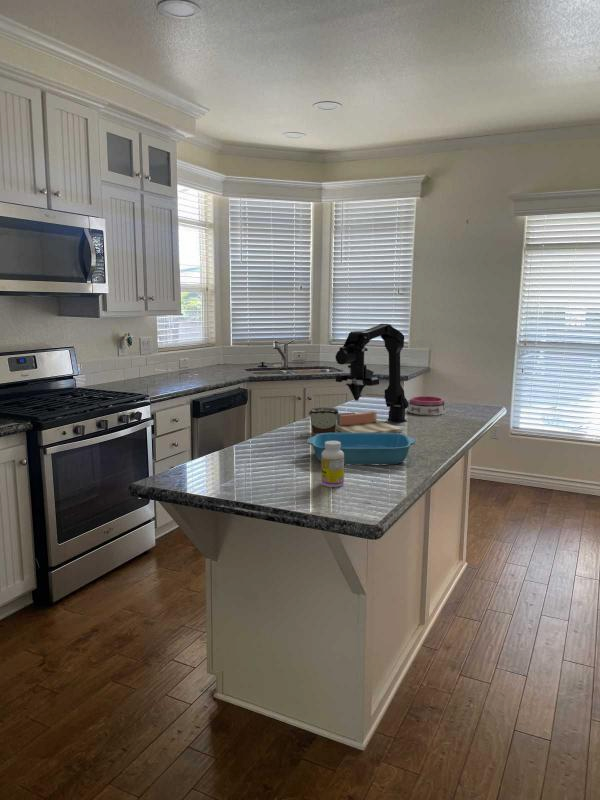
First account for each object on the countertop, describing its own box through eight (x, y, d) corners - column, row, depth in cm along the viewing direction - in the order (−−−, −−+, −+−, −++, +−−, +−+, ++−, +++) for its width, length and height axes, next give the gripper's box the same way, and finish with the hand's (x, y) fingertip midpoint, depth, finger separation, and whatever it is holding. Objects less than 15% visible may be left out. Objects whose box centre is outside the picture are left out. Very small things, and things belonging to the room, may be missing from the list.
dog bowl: (445, 417, 275) (445, 402, 274) (404, 415, 281) (405, 400, 279) (447, 410, 293) (447, 396, 292) (409, 408, 298) (409, 394, 297)
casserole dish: (305, 467, 194) (305, 446, 193) (308, 450, 216) (308, 431, 215) (418, 468, 192) (419, 447, 190) (411, 451, 213) (411, 432, 212)
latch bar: (374, 420, 257) (374, 411, 257) (377, 421, 255) (377, 412, 254) (339, 424, 250) (339, 414, 249) (342, 425, 248) (342, 415, 247)
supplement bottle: (320, 481, 178) (320, 439, 176) (341, 480, 178) (342, 439, 176) (322, 488, 171) (322, 445, 169) (345, 487, 172) (345, 444, 170)
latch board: (376, 423, 261) (376, 409, 260) (402, 432, 243) (402, 417, 242) (332, 427, 252) (332, 414, 251) (356, 437, 234) (356, 422, 233)
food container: (339, 431, 246) (339, 407, 244) (338, 434, 240) (339, 410, 238) (309, 430, 247) (309, 406, 246) (308, 433, 241) (308, 409, 240)
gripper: (387, 362, 240) (386, 400, 243) (352, 359, 253) (351, 395, 256) (370, 364, 232) (370, 404, 235) (334, 361, 245) (334, 398, 248)
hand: (356, 400), depth 243 cm, fingers closed
